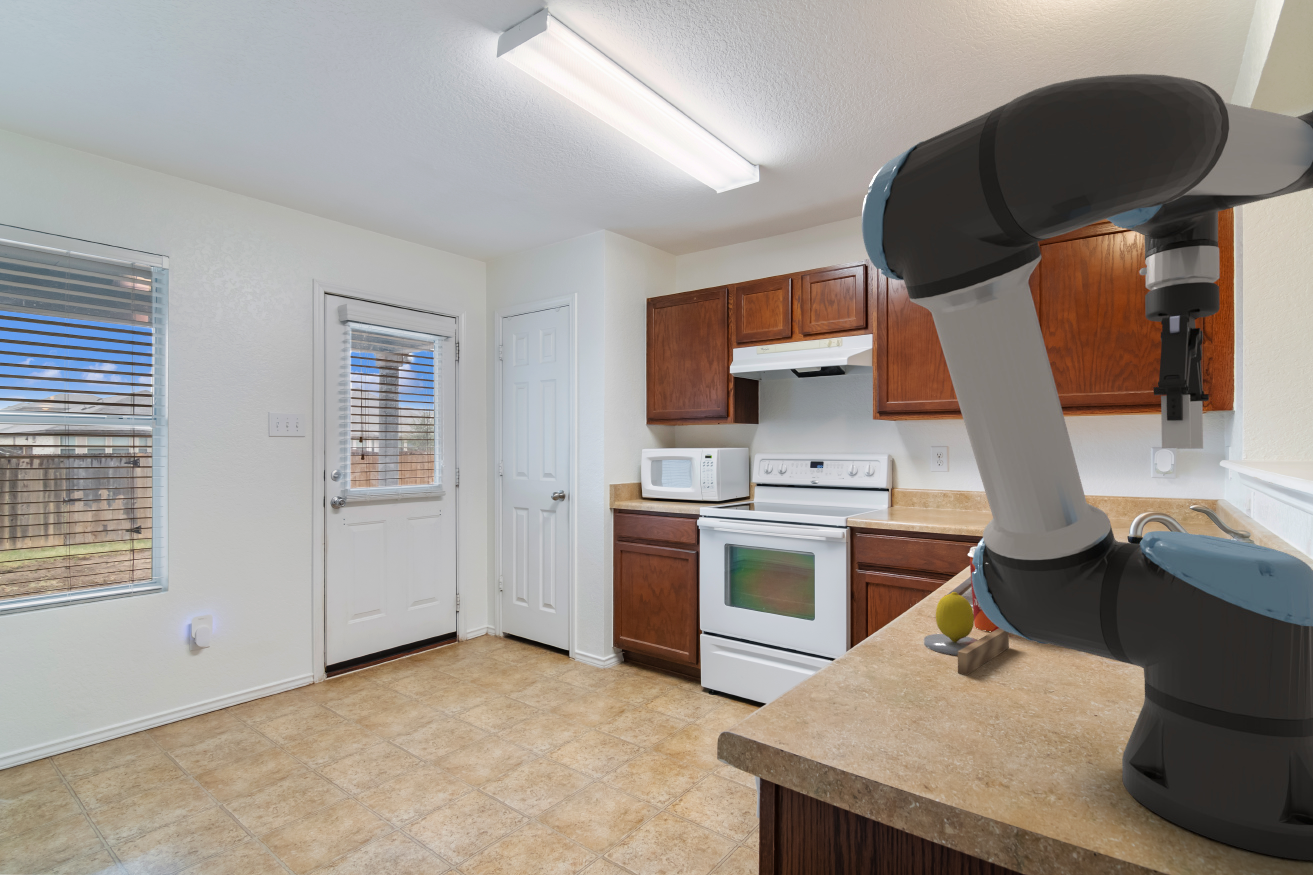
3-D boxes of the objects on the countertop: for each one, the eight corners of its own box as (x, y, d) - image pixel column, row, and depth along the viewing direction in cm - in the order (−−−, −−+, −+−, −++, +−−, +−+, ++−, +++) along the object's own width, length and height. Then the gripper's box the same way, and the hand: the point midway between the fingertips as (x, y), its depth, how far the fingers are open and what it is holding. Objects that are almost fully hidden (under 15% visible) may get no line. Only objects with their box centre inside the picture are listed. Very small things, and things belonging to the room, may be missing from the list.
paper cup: (972, 632, 110) (971, 551, 110) (964, 621, 117) (964, 544, 117) (1023, 636, 107) (1022, 553, 108) (1012, 624, 115) (1011, 546, 115)
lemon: (978, 648, 98) (978, 596, 98) (940, 646, 99) (939, 594, 99) (968, 638, 103) (968, 589, 104) (932, 636, 104) (932, 587, 105)
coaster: (974, 660, 95) (974, 654, 95) (914, 646, 101) (914, 641, 101) (994, 647, 101) (994, 642, 101) (937, 635, 108) (937, 630, 108)
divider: (966, 674, 89) (966, 653, 89) (957, 672, 89) (957, 651, 90) (1008, 647, 101) (1008, 628, 101) (1000, 645, 102) (1000, 626, 102)
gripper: (1159, 307, 95) (1161, 448, 95) (1127, 274, 78) (1129, 447, 77) (1227, 298, 90) (1229, 448, 89) (1208, 261, 72) (1211, 447, 72)
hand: (1183, 448), depth 83 cm, fingers open, 13 cm apart
